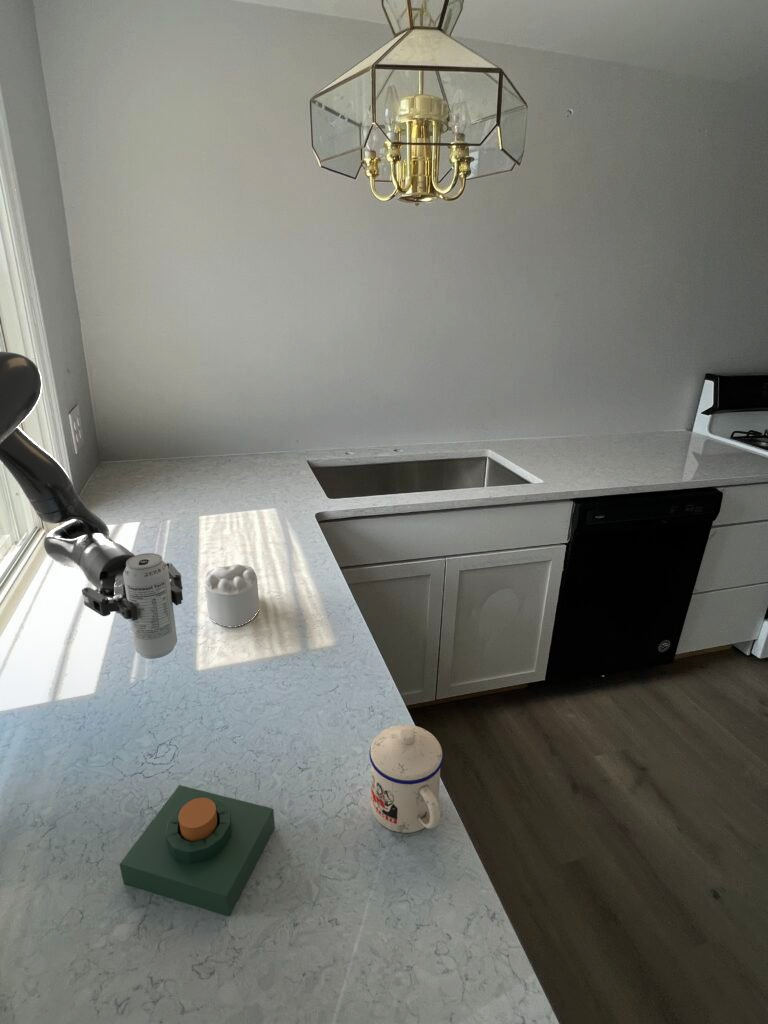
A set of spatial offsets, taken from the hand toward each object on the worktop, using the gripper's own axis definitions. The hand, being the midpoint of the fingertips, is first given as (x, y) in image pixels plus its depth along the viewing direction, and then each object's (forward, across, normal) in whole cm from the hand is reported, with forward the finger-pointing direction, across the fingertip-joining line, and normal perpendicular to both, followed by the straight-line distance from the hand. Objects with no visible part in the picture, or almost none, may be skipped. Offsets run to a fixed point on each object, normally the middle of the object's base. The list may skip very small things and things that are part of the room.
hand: (157, 606), depth 80 cm
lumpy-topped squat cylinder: (-20, +23, +19) cm, 36 cm away
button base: (+25, -8, +19) cm, 33 cm away
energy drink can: (-2, 0, +9) cm, 9 cm away
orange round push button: (+25, -8, +14) cm, 30 cm away
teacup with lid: (+38, +13, +19) cm, 45 cm away
